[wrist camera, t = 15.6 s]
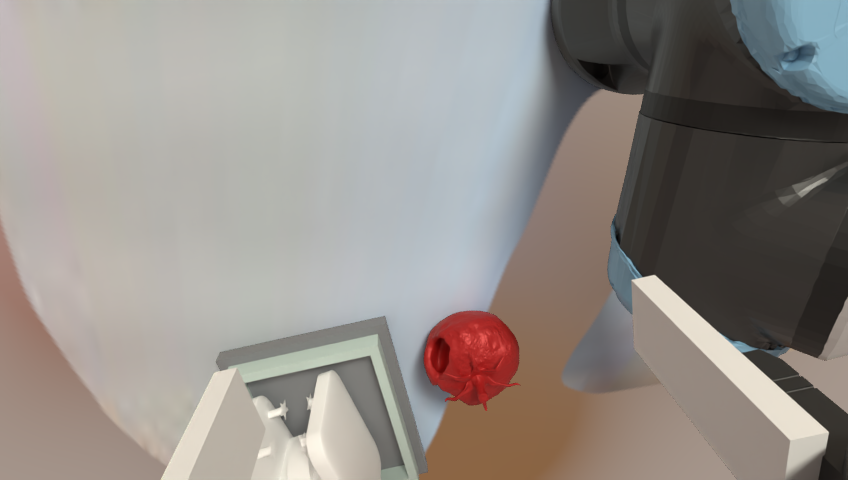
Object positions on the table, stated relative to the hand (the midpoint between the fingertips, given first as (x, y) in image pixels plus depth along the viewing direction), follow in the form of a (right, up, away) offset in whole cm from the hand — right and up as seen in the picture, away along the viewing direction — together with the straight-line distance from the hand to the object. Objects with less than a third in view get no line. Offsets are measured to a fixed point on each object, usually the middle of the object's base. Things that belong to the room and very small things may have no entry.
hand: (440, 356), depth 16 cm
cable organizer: (-13, -17, +38) cm, 44 cm away
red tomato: (+4, -7, +37) cm, 38 cm away
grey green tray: (-11, -16, +40) cm, 44 cm away
